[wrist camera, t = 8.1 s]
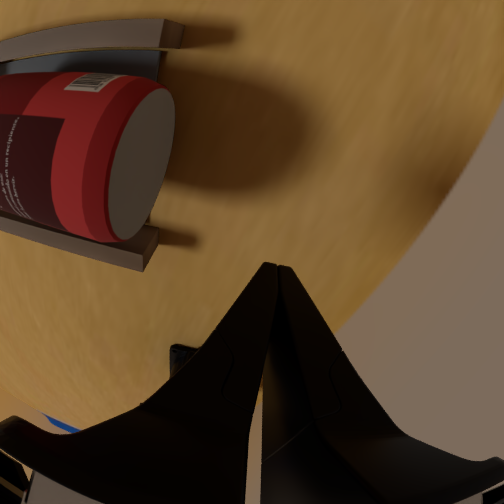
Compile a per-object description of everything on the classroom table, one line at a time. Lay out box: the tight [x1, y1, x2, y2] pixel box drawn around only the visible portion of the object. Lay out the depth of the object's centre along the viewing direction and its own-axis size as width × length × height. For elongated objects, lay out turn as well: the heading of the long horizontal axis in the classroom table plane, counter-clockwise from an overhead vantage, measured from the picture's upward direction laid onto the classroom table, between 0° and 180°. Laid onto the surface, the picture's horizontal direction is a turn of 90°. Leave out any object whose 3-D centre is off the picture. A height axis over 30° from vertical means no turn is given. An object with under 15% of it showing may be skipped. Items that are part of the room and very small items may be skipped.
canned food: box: [0, 72, 175, 242], centre depth 12 cm, size 8×8×11 cm
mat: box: [0, 50, 162, 225], centre depth 15 cm, size 11×14×1 cm
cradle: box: [0, 19, 185, 272], centre depth 14 cm, size 14×17×3 cm
